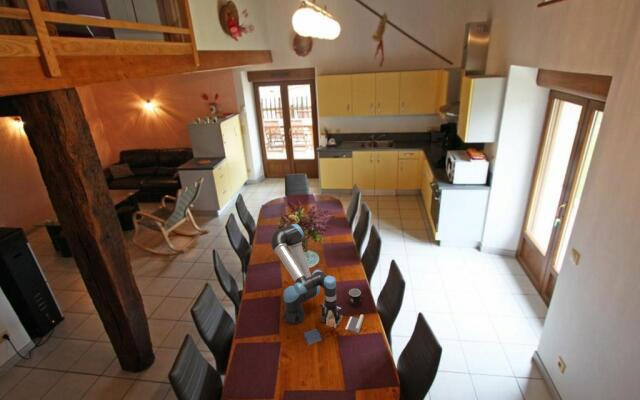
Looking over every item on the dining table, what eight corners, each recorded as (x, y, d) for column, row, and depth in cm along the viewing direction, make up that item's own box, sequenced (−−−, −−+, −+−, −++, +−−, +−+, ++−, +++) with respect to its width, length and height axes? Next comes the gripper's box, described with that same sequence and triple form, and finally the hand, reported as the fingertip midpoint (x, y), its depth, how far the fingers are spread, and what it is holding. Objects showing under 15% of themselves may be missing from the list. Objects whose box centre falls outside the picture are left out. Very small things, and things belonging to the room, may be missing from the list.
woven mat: (302, 334, 222) (302, 332, 222) (317, 329, 226) (317, 327, 225) (307, 346, 213) (307, 344, 213) (322, 341, 217) (322, 338, 216)
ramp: (320, 321, 232) (320, 315, 229) (325, 312, 239) (324, 306, 237) (338, 325, 227) (338, 319, 225) (342, 316, 234) (342, 310, 232)
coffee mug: (347, 301, 248) (346, 290, 244) (357, 298, 251) (357, 287, 247) (354, 311, 238) (353, 300, 234) (364, 308, 241) (364, 297, 237)
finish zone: (345, 329, 223) (345, 325, 222) (350, 316, 234) (350, 312, 233) (358, 333, 220) (358, 328, 218) (363, 319, 231) (363, 314, 229)
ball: (326, 327, 221) (326, 322, 219) (329, 322, 225) (329, 316, 223) (333, 329, 219) (333, 323, 217) (336, 324, 223) (336, 318, 221)
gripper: (315, 299, 212) (317, 326, 222) (342, 305, 206) (342, 333, 216) (319, 291, 218) (321, 318, 228) (345, 297, 212) (346, 324, 222)
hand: (331, 325), depth 222 cm, fingers closed on ball, 5 cm apart
